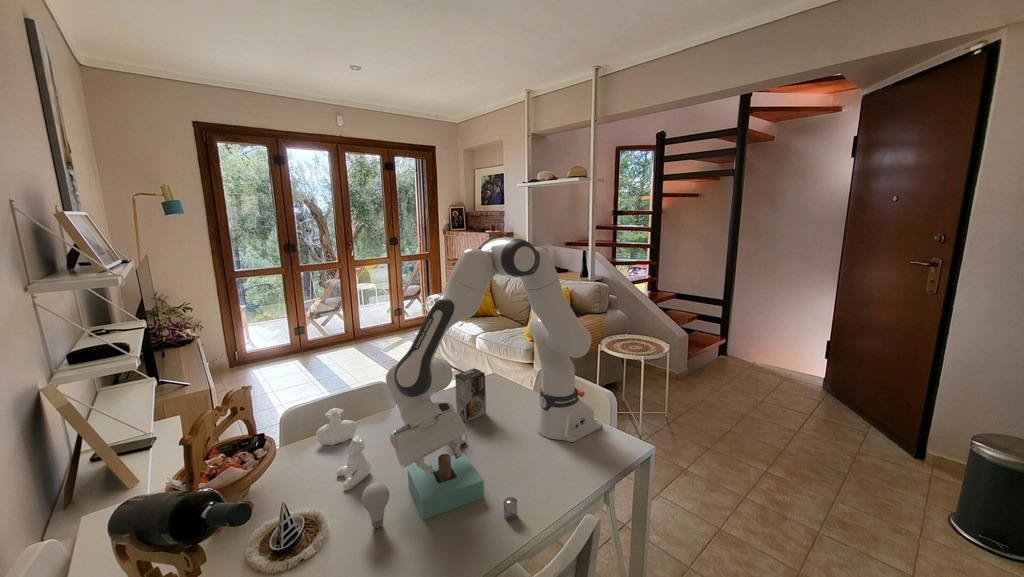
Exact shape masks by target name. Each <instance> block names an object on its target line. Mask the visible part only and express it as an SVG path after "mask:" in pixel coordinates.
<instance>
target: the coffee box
mask: <svg viewBox="0 0 1024 577" xmlns="http://www.w3.org/2000/svg"><path fill="white" fill-rule="evenodd" d="M454 376H455V378H454V380H455V400H456V401H455V402H456V404H455V405H456V412H457V413H458V415H459V416H461V417H462V420H463V422H464V423H469V422H470V421H473V420H474V419H477V418H479V417H481V416H484V415H486V414H487V400H486V399H487V398H486V373H485V372H483V371H481V370H479V369H477V368H474V367H473V368H471V369H469V370H465V371H462V372H460V373H457V374H455V375H454Z"/></svg>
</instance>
